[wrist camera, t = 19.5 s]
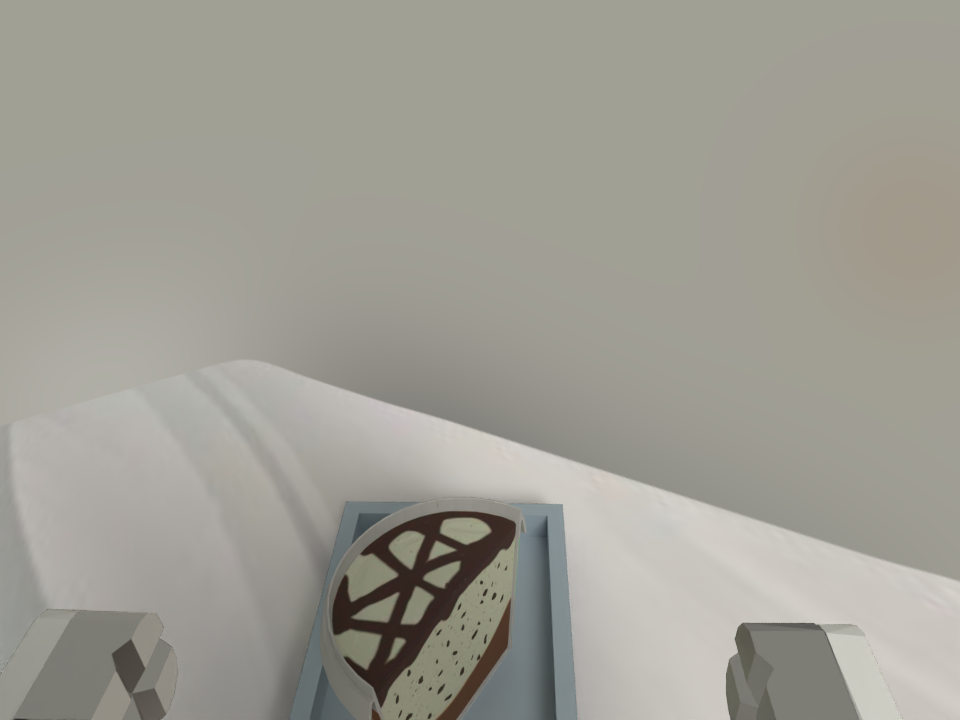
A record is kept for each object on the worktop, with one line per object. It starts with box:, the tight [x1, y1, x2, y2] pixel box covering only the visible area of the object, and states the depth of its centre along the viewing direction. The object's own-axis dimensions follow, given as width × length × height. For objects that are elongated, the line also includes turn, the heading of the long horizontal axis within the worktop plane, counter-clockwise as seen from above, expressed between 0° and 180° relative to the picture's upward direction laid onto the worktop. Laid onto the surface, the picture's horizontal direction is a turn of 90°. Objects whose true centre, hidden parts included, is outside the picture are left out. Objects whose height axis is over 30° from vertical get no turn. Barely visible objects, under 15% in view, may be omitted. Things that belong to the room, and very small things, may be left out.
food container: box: [320, 497, 527, 720], centre depth 37 cm, size 12×6×10 cm, turn 147°
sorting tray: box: [289, 502, 577, 720], centre depth 41 cm, size 14×20×2 cm
